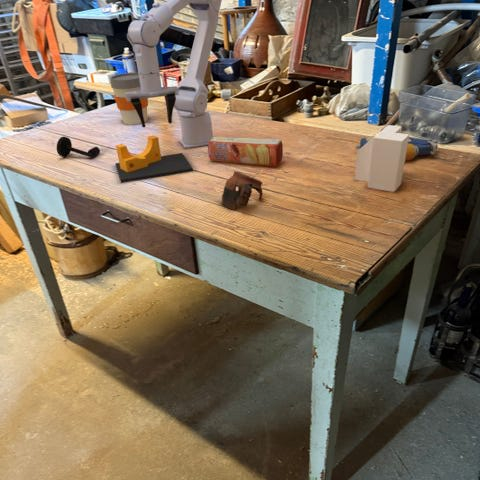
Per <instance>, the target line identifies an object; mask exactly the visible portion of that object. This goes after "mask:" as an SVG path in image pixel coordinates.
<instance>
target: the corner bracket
mask: <svg viewBox="0 0 480 480" xmlns="http://www.w3.org/2000/svg"><path fill="white" fill-rule="evenodd" d="M402 128H403V126H402V125H401V126H400V125H391V124H388V125H386V126H385V127H384V128H383V129H381V131H379V132H377V134H375V135H374V136H375V137H373V138H372V139H371V140H370V141H368V142H367V143H366V144H365V145H364V146H363V147H361V148H360V149H359V148H358V149H357V151H356V160H355V171H354V181H360V182H365V183H367V188H369V189H374V190H380V191H381V190H382V191H386V192H390V193H391V192H392V193H395V192H396V191H397V189H398V188H399V187H400V186H401V185H402V182H403V181H402V180H403V175H404V168H405V164H406V161H405V157H406V151H407V145H408V139H409V137H410V134H408V133H402Z"/></svg>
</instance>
